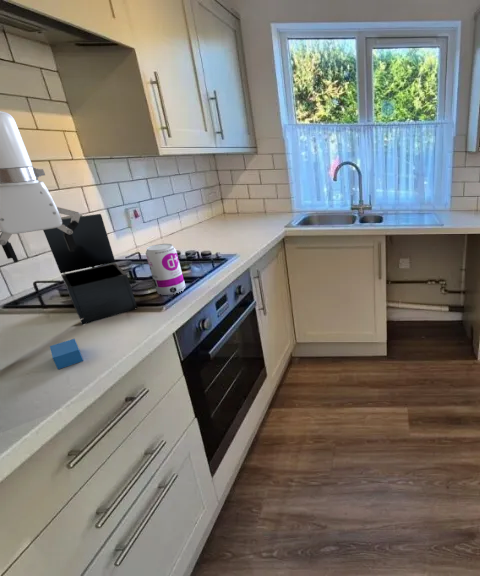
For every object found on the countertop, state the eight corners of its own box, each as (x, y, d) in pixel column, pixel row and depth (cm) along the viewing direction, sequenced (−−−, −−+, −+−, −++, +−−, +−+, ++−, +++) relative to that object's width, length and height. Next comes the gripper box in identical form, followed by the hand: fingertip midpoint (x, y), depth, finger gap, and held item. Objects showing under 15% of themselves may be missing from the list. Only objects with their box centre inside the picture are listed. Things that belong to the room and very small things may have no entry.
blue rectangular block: (83, 360, 81) (78, 349, 80) (57, 369, 78) (52, 358, 77) (78, 349, 86) (74, 338, 85) (54, 357, 83) (49, 346, 82)
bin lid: (101, 214, 102) (96, 208, 105) (40, 222, 94) (37, 215, 97) (115, 262, 110) (110, 255, 114) (60, 273, 102) (57, 265, 105)
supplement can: (191, 288, 119) (180, 244, 113) (168, 298, 112) (155, 252, 106) (175, 284, 122) (163, 242, 116) (151, 294, 115) (137, 249, 109)
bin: (138, 308, 106) (126, 274, 101) (82, 324, 97) (67, 288, 93) (126, 294, 115) (115, 262, 111) (74, 308, 107) (60, 274, 102)
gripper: (62, 172, 83) (88, 244, 90) (-49, 180, 71) (-10, 261, 78) (68, 174, 78) (95, 249, 85) (-51, 182, 67) (-9, 269, 73)
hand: (44, 255), depth 81 cm, fingers open, 9 cm apart
